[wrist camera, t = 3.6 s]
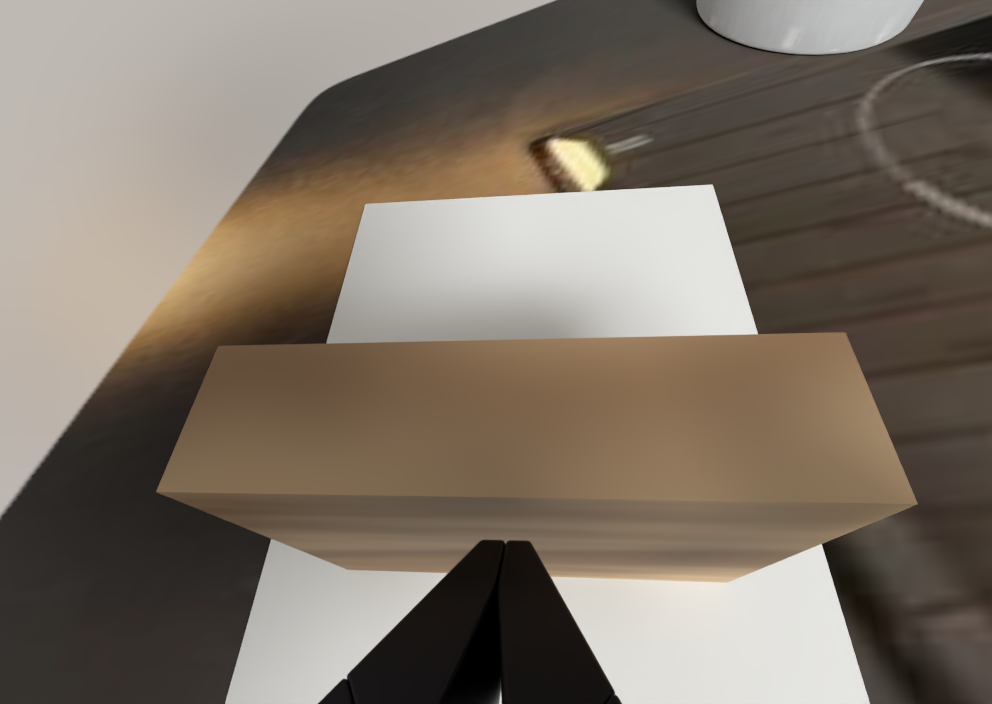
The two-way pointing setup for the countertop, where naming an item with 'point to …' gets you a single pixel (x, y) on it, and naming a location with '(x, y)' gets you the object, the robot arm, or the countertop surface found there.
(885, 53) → the countertop surface
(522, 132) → the countertop surface
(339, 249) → the countertop surface
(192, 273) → the countertop surface
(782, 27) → the utensil holder
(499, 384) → the oak board
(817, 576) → the mat
